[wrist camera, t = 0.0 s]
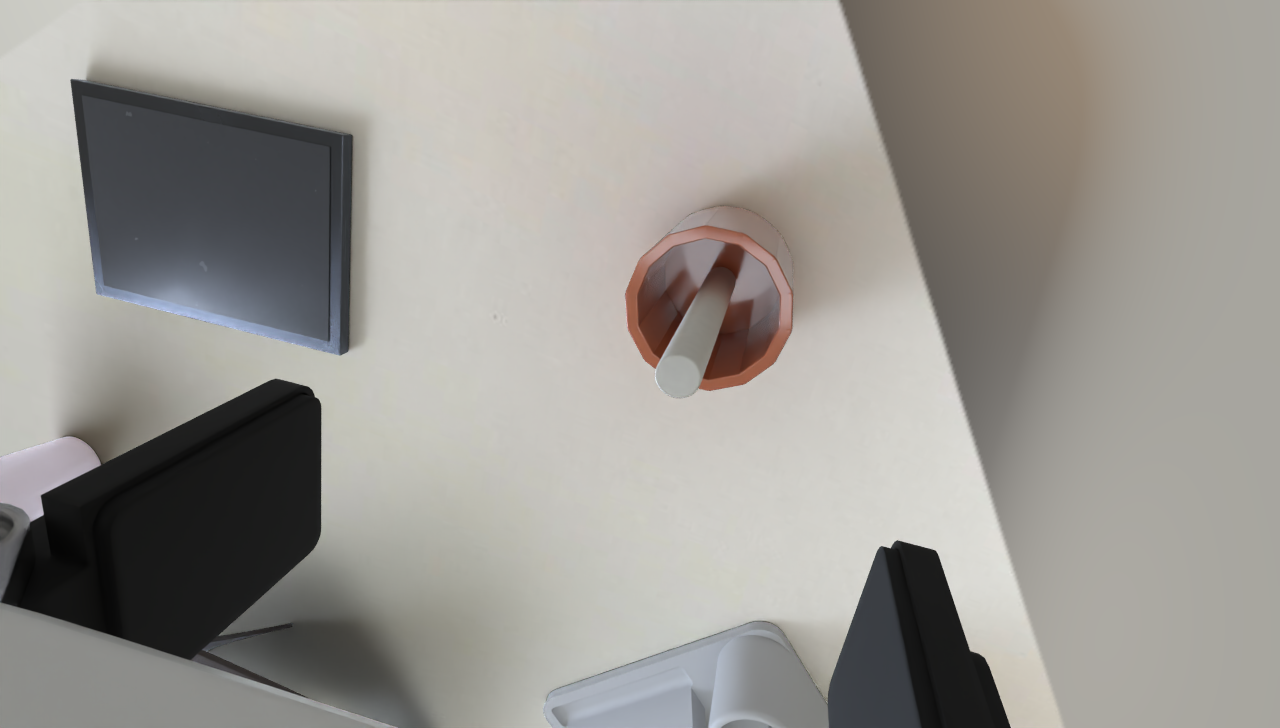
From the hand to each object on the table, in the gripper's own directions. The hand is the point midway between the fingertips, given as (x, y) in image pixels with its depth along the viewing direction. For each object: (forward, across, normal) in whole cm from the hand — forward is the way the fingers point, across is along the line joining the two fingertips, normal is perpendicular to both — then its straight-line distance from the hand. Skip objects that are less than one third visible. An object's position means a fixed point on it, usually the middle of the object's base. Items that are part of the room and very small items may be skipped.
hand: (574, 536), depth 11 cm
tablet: (+24, +28, +4) cm, 37 cm away
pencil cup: (+24, 0, +1) cm, 24 cm away
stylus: (+24, 0, +1) cm, 24 cm away
